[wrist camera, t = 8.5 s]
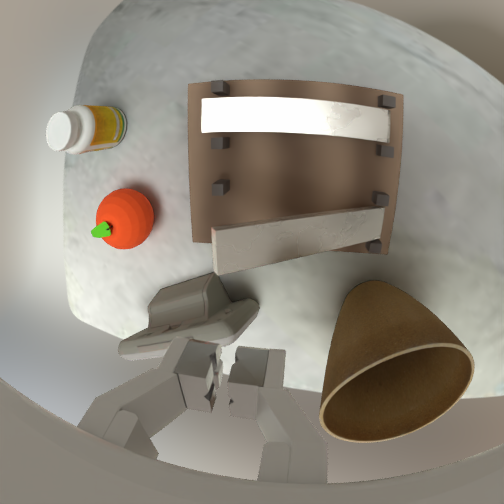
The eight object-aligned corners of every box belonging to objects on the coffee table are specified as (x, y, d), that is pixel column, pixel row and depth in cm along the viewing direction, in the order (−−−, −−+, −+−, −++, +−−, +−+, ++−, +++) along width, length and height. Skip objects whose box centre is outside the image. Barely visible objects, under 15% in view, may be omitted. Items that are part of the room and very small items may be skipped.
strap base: (389, 99, 23) (414, 91, 17) (377, 240, 30) (395, 265, 24) (201, 89, 26) (177, 79, 20) (204, 229, 32) (184, 252, 26)
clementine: (123, 244, 35) (93, 267, 28) (104, 196, 32) (69, 212, 26) (171, 228, 33) (144, 252, 26) (152, 175, 30) (118, 187, 24)
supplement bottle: (105, 156, 30) (52, 169, 21) (89, 124, 28) (36, 129, 20) (135, 131, 28) (82, 135, 20) (117, 98, 27) (63, 94, 18)
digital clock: (160, 330, 40) (130, 379, 30) (139, 279, 37) (98, 323, 27) (265, 326, 37) (255, 387, 27) (252, 266, 33) (235, 321, 24)
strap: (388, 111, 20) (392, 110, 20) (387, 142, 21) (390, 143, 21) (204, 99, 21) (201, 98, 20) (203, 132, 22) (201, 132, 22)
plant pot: (290, 313, 35) (283, 419, 21) (372, 228, 29) (430, 310, 15) (364, 362, 37) (380, 453, 23) (439, 296, 31) (492, 379, 17)
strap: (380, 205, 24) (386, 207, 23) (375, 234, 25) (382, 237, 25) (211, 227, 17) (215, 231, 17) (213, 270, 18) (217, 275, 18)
